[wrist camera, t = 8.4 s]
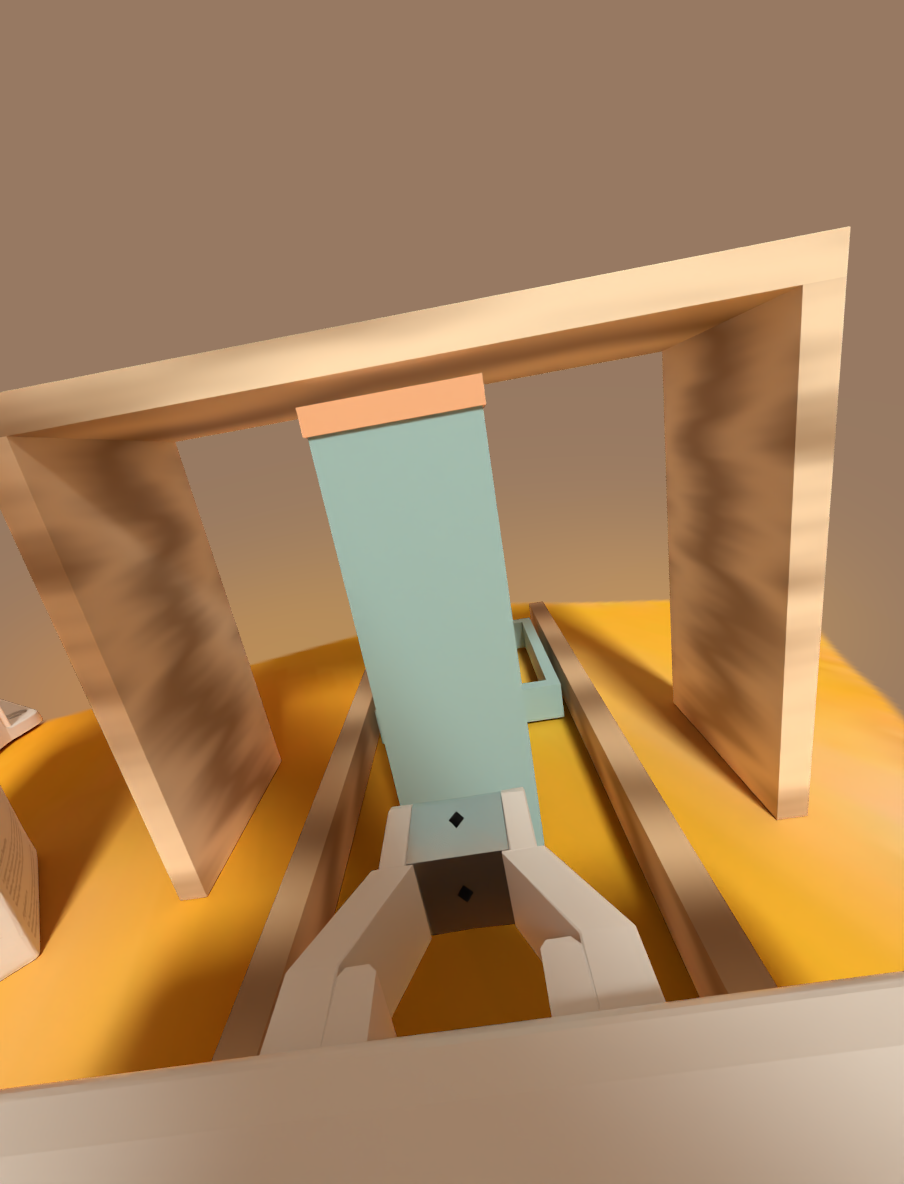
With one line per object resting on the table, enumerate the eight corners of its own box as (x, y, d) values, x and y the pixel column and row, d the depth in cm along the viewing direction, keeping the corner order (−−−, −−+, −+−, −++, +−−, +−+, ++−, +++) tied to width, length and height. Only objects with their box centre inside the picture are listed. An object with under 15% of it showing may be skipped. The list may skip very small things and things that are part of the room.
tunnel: (1235, 1253, 8) (2491, -699, 2) (-103, 1369, 10) (-1403, 268, 4) (613, 617, 40) (595, 369, 34) (323, 663, 42) (258, 432, 36)
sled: (627, 864, 17) (589, 352, 12) (345, 901, 18) (194, 426, 13) (532, 642, 38) (503, 414, 32) (401, 662, 38) (352, 441, 33)
